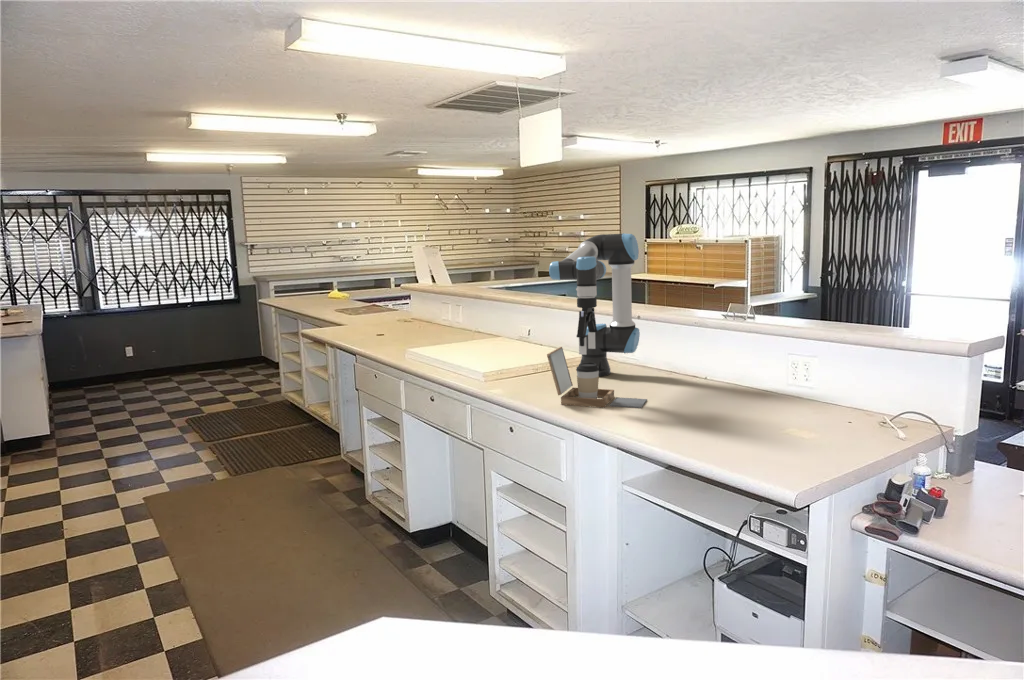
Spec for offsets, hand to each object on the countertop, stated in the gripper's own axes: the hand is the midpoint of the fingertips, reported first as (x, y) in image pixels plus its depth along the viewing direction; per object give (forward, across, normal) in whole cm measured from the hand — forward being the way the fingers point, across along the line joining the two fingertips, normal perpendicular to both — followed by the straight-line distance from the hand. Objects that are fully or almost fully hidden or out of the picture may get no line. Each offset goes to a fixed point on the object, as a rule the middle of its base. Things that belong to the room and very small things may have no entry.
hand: (587, 351), depth 258 cm
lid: (+8, 0, -11) cm, 13 cm away
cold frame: (+20, 0, 0) cm, 20 cm away
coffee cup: (+20, 0, 0) cm, 20 cm away
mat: (+20, 0, +16) cm, 25 cm away
